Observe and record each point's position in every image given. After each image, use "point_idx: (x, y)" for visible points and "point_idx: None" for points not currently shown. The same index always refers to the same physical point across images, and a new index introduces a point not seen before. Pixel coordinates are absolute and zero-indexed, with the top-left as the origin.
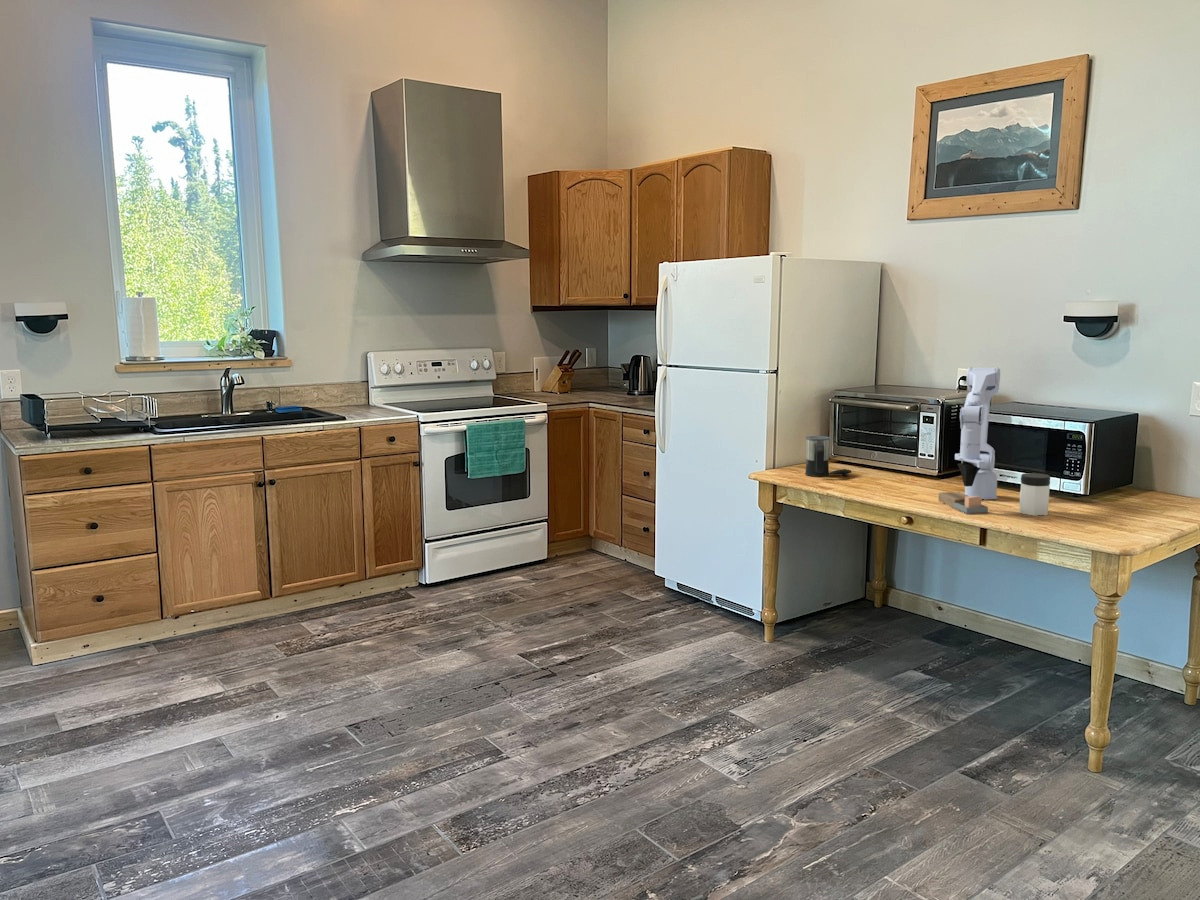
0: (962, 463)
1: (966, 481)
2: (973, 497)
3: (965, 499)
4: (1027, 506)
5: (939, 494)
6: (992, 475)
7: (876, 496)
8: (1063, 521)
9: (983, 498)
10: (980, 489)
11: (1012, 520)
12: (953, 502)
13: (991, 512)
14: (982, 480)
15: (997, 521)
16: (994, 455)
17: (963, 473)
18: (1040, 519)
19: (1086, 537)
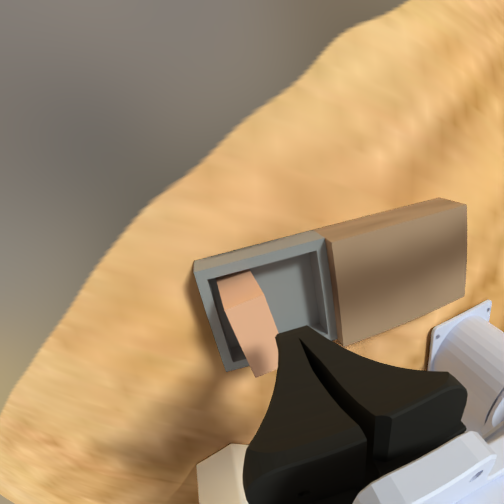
0: (447, 430)
1: (278, 357)
2: (237, 337)
3: (253, 290)
4: (214, 476)
5: (456, 204)
6: (479, 431)
7: (480, 8)
8: (145, 493)
9: (429, 367)
10: (453, 375)
11: (114, 403)
12: (335, 234)
13: (241, 370)
14: (472, 399)
15: (81, 352)
16: None
17: (333, 379)
18: (154, 466)
19: (6, 467)
